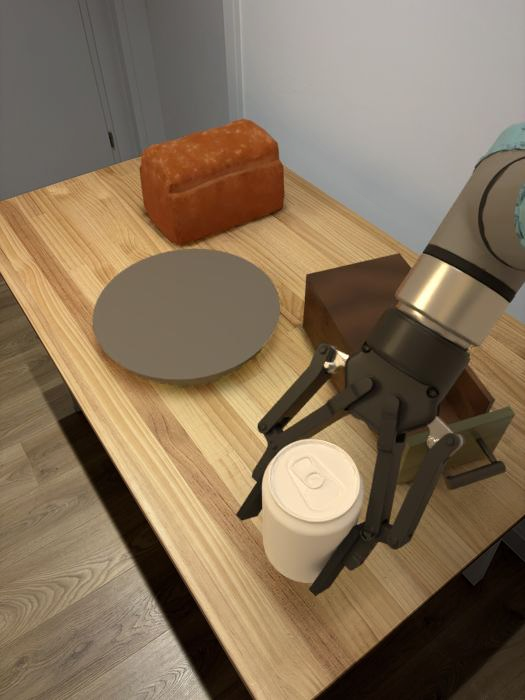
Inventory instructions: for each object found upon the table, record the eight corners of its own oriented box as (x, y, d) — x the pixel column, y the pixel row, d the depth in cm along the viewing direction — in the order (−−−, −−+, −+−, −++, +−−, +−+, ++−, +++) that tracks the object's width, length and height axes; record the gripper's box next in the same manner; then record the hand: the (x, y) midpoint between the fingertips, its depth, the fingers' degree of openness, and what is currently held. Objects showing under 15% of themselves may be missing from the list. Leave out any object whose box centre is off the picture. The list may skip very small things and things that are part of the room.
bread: (138, 206, 108) (124, 134, 97) (245, 170, 117) (243, 100, 106) (177, 252, 99) (165, 178, 88) (290, 210, 107) (293, 137, 96)
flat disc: (314, 350, 83) (316, 329, 80) (141, 430, 74) (135, 411, 70) (227, 250, 99) (225, 229, 96) (75, 306, 90) (67, 285, 86)
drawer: (514, 486, 67) (541, 447, 60) (414, 520, 64) (431, 483, 57) (429, 365, 80) (444, 321, 73) (342, 389, 77) (350, 346, 70)
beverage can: (294, 604, 48) (301, 548, 39) (246, 528, 53) (242, 463, 44) (367, 554, 51) (388, 492, 42) (316, 487, 55) (325, 418, 46)
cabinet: (441, 383, 79) (461, 331, 71) (346, 410, 76) (356, 359, 68) (387, 305, 89) (399, 252, 81) (302, 327, 86) (305, 274, 78)
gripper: (563, 406, 41) (393, 631, 46) (347, 274, 51) (226, 469, 56) (556, 403, 35) (359, 666, 39) (311, 253, 45) (178, 475, 49)
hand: (281, 550), depth 47 cm, fingers closed on beverage can, 8 cm apart
